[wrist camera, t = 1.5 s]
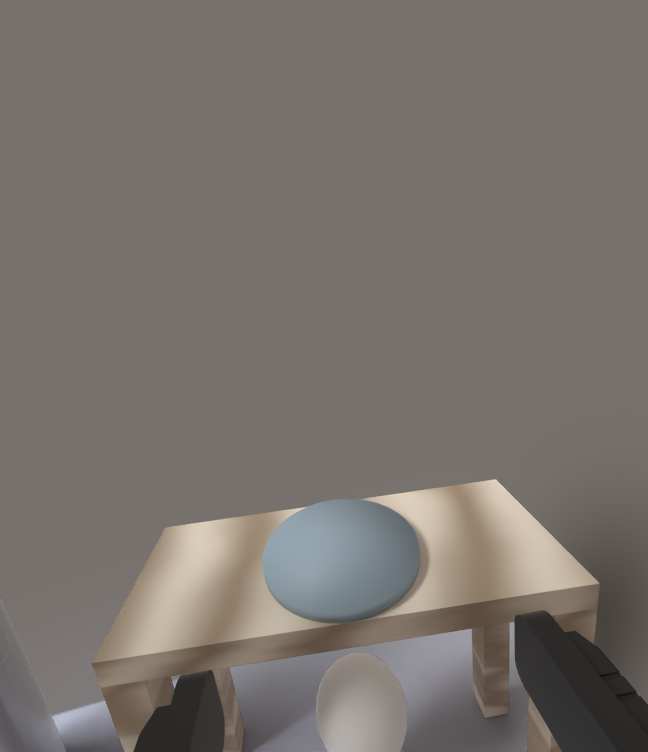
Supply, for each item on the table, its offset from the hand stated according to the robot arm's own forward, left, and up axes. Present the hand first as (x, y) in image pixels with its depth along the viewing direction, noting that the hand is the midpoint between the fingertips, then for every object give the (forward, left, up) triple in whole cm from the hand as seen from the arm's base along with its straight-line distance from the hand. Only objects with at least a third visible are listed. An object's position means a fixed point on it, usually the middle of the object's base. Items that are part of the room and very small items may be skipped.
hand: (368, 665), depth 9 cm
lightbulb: (-4, +10, -26) cm, 29 cm away
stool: (-4, +10, -26) cm, 28 cm away
